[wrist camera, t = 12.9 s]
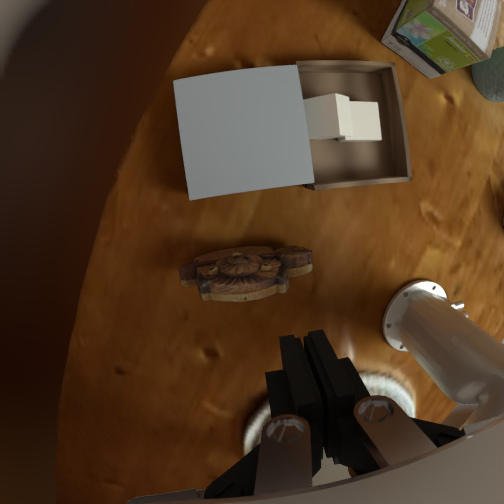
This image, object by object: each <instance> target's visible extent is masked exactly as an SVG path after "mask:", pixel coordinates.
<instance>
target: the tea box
mask: <svg viewBox="0 0 504 504" xmlns="http://www.w3.org/2000/svg"><path fill="white" fill-rule="evenodd" d="M501 6H502V0H402V2H401V4H400V6H399V8H398V10H397V12H396V13H395V15H394V17H393V19H392V21H391V23H390V25H389V27H388V28H387V30H386V32H385V34H384V36H383V38H382V40H381V42H382V43H383V44H385V45H386V46H387V47H389V48H390V49H392V50H393V51H394V52H396V53H397V54H398V55H400V56H401V57H402V58H404V59H405V60H406V61H407V62H409V63H410V64H411V65H413V66H414V67H415V68H416V69H418V70H419V71H420V72H421V73H423V74H424V75H425V76H426V77H428V78H430V79H431V78H434V77H437V76H440V75H442V74H445V73H447V72H451V71H454V70H456V69H459V68H462V67H465V66H468V65H470V64H473V63H477V62H480V61H483V60H486V59H489V58H490V57H491V54H492V50H493V46H494V42H495V38H496V33H497V28H498V23H499V17H500V12H501Z"/></svg>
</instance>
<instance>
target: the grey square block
mask: <svg viewBox="0 0 504 504" xmlns="http://www.w3.org/2000/svg"><path fill="white" fill-rule="evenodd" d="M173 83H174V92H175V100H176V108H177V116H178V124H179V132H180V139H181V146H182V153H183V160H184V167H185V173H186V180H187V186H188V193H189V199H190V200H195V199H201V198H207V197H213V196H219V195H226V194H233V193H239V192H246V191H253V190H261V189H268V188H276V187H284V186H292V185H300V184H309V183H315V182H314V174H313V166H312V158H311V150H310V143H309V136H308V129H307V122H306V116H305V109H304V103H303V97H302V91H301V85H300V79H299V73H298V68H297V65H284V66H270V67H259V68H250V69H241V70H233V71H226V72H219V73H212V74H206V75H200V76H194V77H189V78H184V79H179V80H174V81H173Z"/></svg>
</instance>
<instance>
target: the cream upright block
mask: <svg viewBox="0 0 504 504" xmlns="http://www.w3.org/2000/svg"><path fill="white" fill-rule="evenodd" d="M303 103H304V109H305V116H306V122H307V129H308V136H309V139H319V140H321V139H330V138H341V137H352V136H353V129H352V120H351V111H350V102H349V97H347V96H344V95H340V94H337V93H333V94H328V95H323V96H318V97H314V98H309V99H304V100H303Z"/></svg>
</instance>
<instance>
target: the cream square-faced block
mask: <svg viewBox="0 0 504 504" xmlns="http://www.w3.org/2000/svg"><path fill="white" fill-rule="evenodd" d="M349 102H350V111H351V120H352V129H353V136H352V137H341V138H338V142H373V141H379V140H382V138H381V128H380V119H379V110H378V102H359V101H349Z"/></svg>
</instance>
